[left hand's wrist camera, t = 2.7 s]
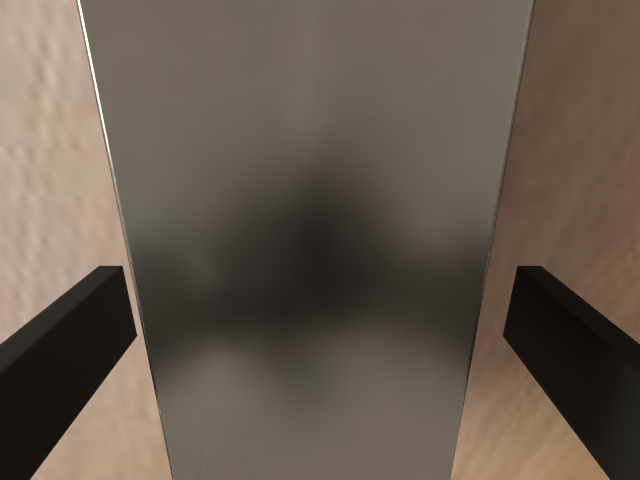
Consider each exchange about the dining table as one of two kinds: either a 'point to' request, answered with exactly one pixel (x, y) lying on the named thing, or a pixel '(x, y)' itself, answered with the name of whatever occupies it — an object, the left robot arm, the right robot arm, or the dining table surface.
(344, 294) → the bar
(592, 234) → the dining table surface
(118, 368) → the dining table surface
